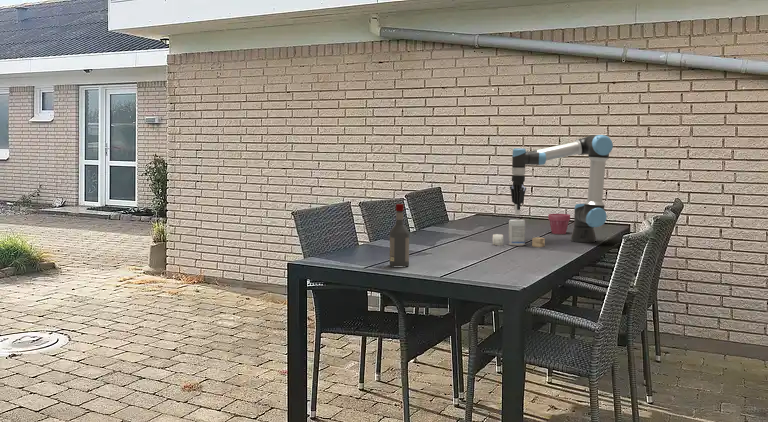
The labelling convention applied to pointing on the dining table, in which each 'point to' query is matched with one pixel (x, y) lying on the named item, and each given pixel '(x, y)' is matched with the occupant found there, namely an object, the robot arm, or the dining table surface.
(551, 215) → the plant pot
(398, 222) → the liquor
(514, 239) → the supplement tub
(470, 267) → the dining table surface
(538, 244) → the oak block
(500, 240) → the white cube
